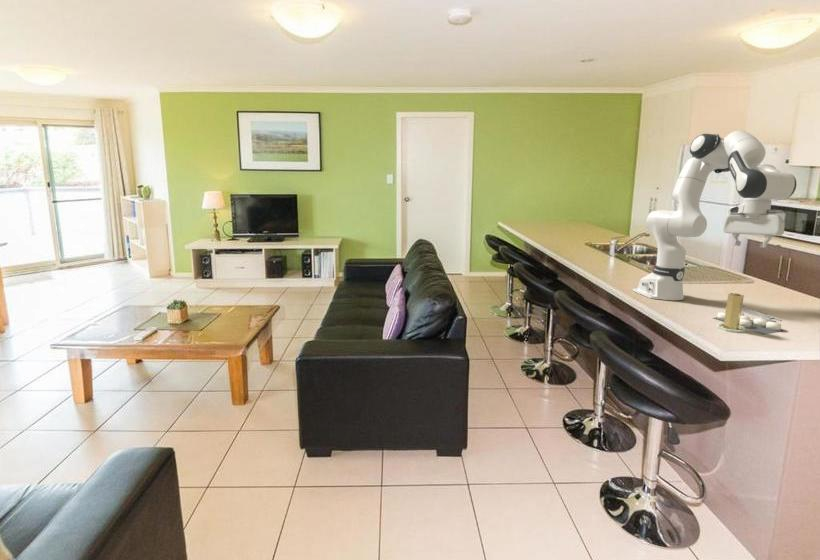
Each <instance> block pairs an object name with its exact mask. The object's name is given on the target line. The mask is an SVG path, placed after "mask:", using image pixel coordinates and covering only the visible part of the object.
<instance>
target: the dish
mask: <svg viewBox="0 0 820 560" xmlns="http://www.w3.org/2000/svg"><path fill="white" fill-rule="evenodd" d="M723 325H724V322H719V323H716V325H715V326H716V328H717V329H718V330H720V331H721V330H722V331H725V332H728V333H735V334H736V333H737V334H739V333H746V331H747V329H745V327H743V326H740V325H739V329H738V330H731V329H726V328H723V327H722V326H723Z"/></svg>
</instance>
